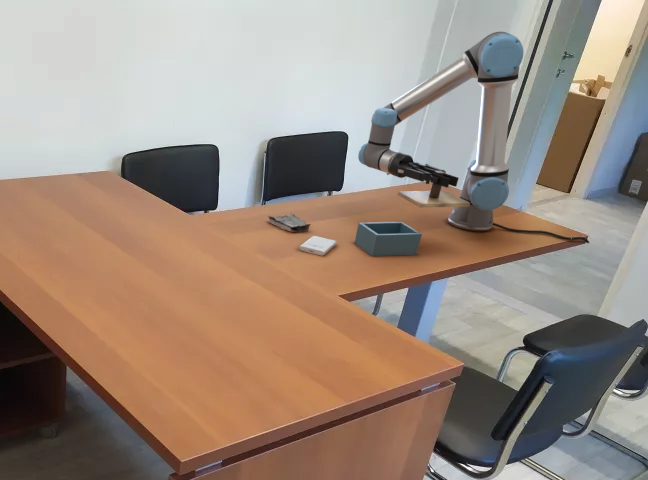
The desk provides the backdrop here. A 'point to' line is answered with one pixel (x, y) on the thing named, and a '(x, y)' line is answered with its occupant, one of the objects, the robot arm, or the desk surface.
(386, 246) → the toy box
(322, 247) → the hard drive
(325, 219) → the desk surface
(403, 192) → the tan piece
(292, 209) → the desk surface
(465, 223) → the robot arm
